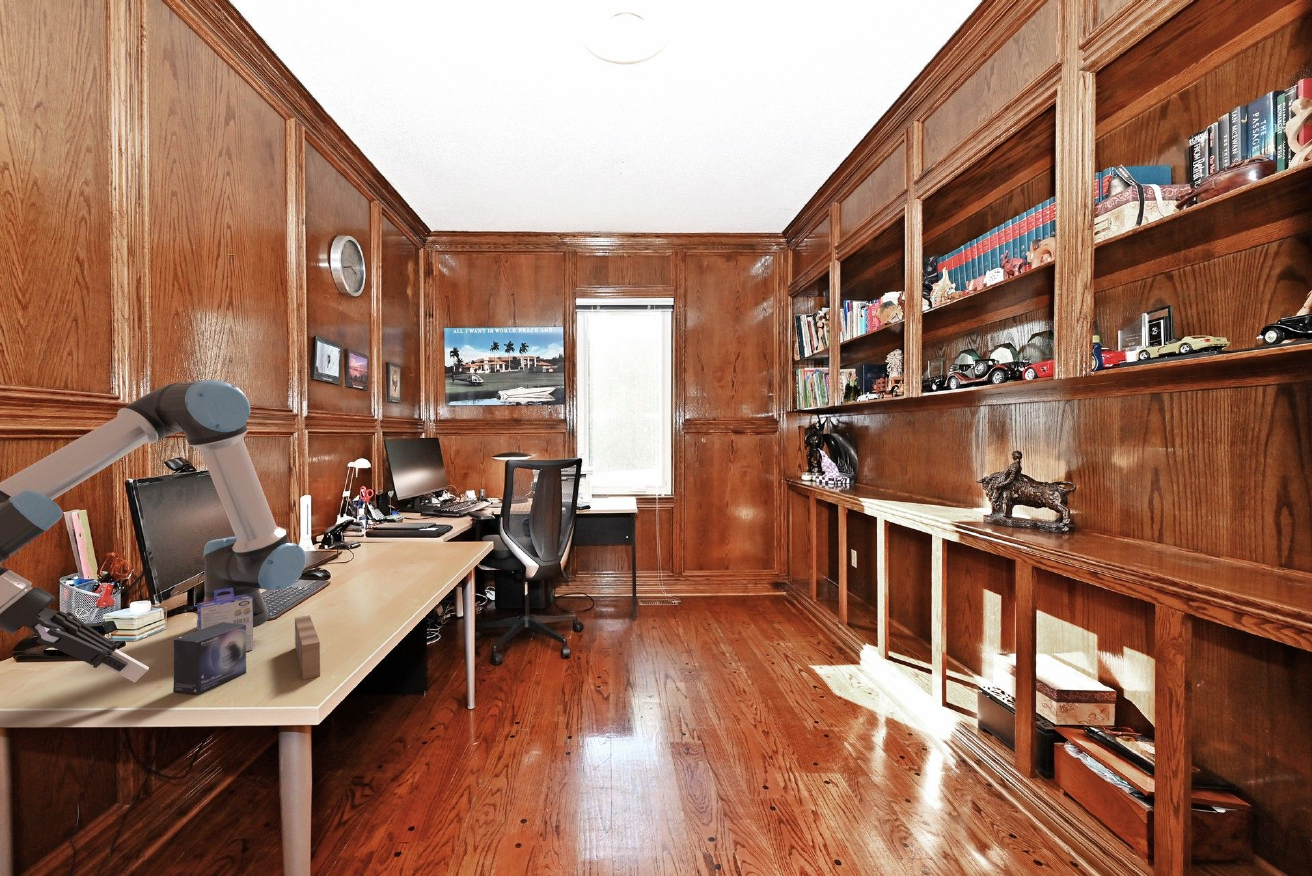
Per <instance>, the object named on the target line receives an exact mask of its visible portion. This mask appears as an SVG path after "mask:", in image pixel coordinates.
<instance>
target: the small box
mask: <svg viewBox="0 0 1312 876" xmlns="http://www.w3.org/2000/svg"><path fill="white" fill-rule="evenodd" d="M172 641H173V690H172V692H173V693H180V694H181V693H182V694H191V695H200V694H202V693H205V692H207V691H209V690H212V689H214V688H216V687H218V686H220V685H223V684H225V683H228V682H229V681H231V680H234V679H237V678H238V677H240V676H243V675H246V674H247V651H246V625H245V624H234V623H226V622H222V623H219V624H216V625H213V626H210V627H207V628H204V629H201V630H198V631H197V630H196V631H193V632H189V633H187V634H184V635H181V636H178V637H175V638H173V640H172Z"/></svg>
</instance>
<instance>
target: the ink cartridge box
mask: <svg viewBox="0 0 1312 876" xmlns="http://www.w3.org/2000/svg"><path fill="white" fill-rule="evenodd" d="M224 591H228V592H231V593H230V594H227V595H221V596H217V594H218V593H221V592H224ZM196 611H197V612H196V616H197V620H198V630H201V629H204V628H207V627H210V626H213V625H216V624H219V623H222V622H226V623H234V624H245V625H246V652H249V651H252V650H254V627H253V606H252V597H251V596H249V595H248V594H244V595H239V596H235V595H234V591H233V587H231V588H225V589H219V590H214V600H213V601H208V602H204V601H203V602H198V603H196Z"/></svg>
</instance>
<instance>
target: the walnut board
mask: <svg viewBox="0 0 1312 876" xmlns="http://www.w3.org/2000/svg"><path fill="white" fill-rule="evenodd" d="M294 642H295V643H294V645H295V646H294V647H295V652H296V657H297V660H298V663H299V668H300V672H301V677H302V680H303V681H304V680H308V678H309V679H314V678H318V677H321V646H320V644H321V642H320V639H319V637H318V634H317V630H316V629H315V626H314V623H313V620H312V617H311V615H303V616H296V617H294Z"/></svg>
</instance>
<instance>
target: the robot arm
mask: <svg viewBox="0 0 1312 876" xmlns="http://www.w3.org/2000/svg"><path fill="white" fill-rule="evenodd" d="M250 415H251V404H250V402H249V399H248V398H247V395H246V394H245V393H244V392H243V391H242V390H241V389H240V388H238V387H237V386H236V385H233V384H232V383H229V382H226V381H222V380H211V379H210V380H209V379H206V380H197V381H187V382H185V381H184V382H181V381H180V382H173V383H168V384H166V385H163V386H162V385H161V386H160V387H158V388H156V389H154V390H152V391H150V392H148V393H147V394H144V395H143V396H141V397H139V398H138V399H135V401H132V402H131V403H129V404H127V405H125V406H124V407H122V408H120V409H118V411H117V414H116V417H114V418H113V419H111V420H109V421H107V422H105V423H104V424H102V425H100V426H98V427H96V428H94V429H93V430H91V431H90V432H88V433H86V434H84V435H82V436H80V437H79V438H77V439H75V440H73V441H72V442H69V443H68V444H67V445H65V446H62V447H61V448H59V449H58V450H56V451H54V452H52V453H51V454H49V455H47V456H45V457H43V458H41V459H40V460H38V461H36V462H34V463H32V464H31V465H28V466H27V467H25V468H24V469H22V470H20V471H18V472H16V473H15V474H13V475H11V476H9V477H8V478H5V479H4V480H3V481H0V630H2V631H4V632H6V633H8V634H11V635H12V634H15V633H17V632H19V630H21V629H22V628H23V627H25V628H26V629H28V630H29V631H31V633H33V636H35V637H36V638H38V639H37V640H36V642H37V643H38V644H40V645H43V646H47V647H50V648H52V649H55V650H57V651H59V652H61V653H64V654H66V655H69V656H71V657H73V658H76V660H79V661H82V662H84V663H86V664H89V665H91V666H92V668H93V669H94V668H95V669H97V668H98V667H100V665H101V666H103V667H105V668H107V669H109V670H111V671H113V672H114V673H116V674H118V675H120V676H122V677H124V678H126V679H127V680H129V681H130V682H133V683H136V682H137V681H138V680H139V679H140V678H141V677H142V676H144V675H145V674H146V673H147V672H148V671H149V668H150V667H149V666H147V665H145V664H144V663H142V662H140V661H138V660H137V659H135V658H133V657H131V656H129V655H128V654H126V653H125V652H122V651H121V650H119V649H118V647H119V646H120V643H119V642H116V643H114V642H113V641H112V640H110V638H107V637H106V636H104V635H103V634H101V633H99V632H98V631H97V630H95V629H94V628H92V627H91V626H89V625H88V624H87V623H85V622H83V621H82V620H80V619H79V618H78V617H76V615H74V614H73V613H72V612H71V611H70V612H69V611H67V612H64V611H61V610H59V611H57V610H56V609H53V608H51V607H48V606H49V605H50V604H52V603H53V602H54V601H55V599H56V596H55V595H53V594H52V593H50V592H48V591H47V590H44V589H43V588H42V587H40V586H37V587H36V586H34V587H32V584H33V583H32V582H31V581H30V580H28V579H26V578H25V577H23V576H21V575H19V574H18V573H16V572H14V571H12V570H10V569H8V568H7V567H5V566H3V565H2V563H3V562H5V561H7V559H9V558H10V557H12V556H13V555H14V554H16V553H17V552H19V551H20V550H22V548H24V547H26V546H27V545H28V544H30V543H31V542H32V541H34V540H35V539H37V538H38V537H40V536H41V535H42V534H43V533H45V532H47V531H49V530H50V528H52V527H53V526H54V525H55V524H57V522H59V521H60V520H61V519H62V517H63V516H64V513H63V509H62V508H61V506H60V505H59V504H58V503H57V502H55V501H54V500H55V499H57V498H58V497H60V496H62V495H63V494H65V493H66V492H68V491H70V490H71V489H73V488H74V487H76V486H77V485H80V484H81V483H83V482H85V481H86V480H87V479H89V478H91V477H92V476H94V475H96V474H97V473H99V472H100V471H103V470H104V469H105V468H107V467H109V466H110V465H112V464H113V463H115V462H117V461H118V460H120V459H122V458H123V457H125V456H127V455H128V454H130V453H132V452H133V451H134V450H136V449H138V448H140V447H141V446H143V445H145V444H149V445H150V444H155V443H157V442H158V441H161V440H162V439H164V438H165V437H166V438H167V437H168V436H171V435H174V434H179V433H183V434H184V436H185V439H186V441H187V444H188V445H189V447H192V448H195V449H197V450H199V452H200V454H201V455H202V458H203V462H205V463H204V464H205V465H206V468H207V470H208V473H209V476H210V479H212V482H213V483H212V484H213V486H214V487H215V490H216V493H217V495H218V497H219V500H220V502H221V505H222V506H223V509H224V511H225V513H226V517H227V519H228V522H229V524H230V526H231V529H232V531H233V533H234V536H229V537H224V538H219V539H218V538H217V539H212V540H209V541H207V542H206V543H205V545H204V547H203V555H202V558H203V571H204V572H203V575H204V578H203V579H204V601H203V602H208V601H213V600H214V590H219V589H225V588H231V587H233V591H234V595H235V596H239V595H244V594H248V595H249V596H251V597H252V606H253V628H254V627H256V626H259V625H262V624H263V623H265V622H267V621H268V619H269V610H268V607H267V605H266V603H265V600H264V599H263V596H262V594H261V590H265V591H273V590H274V591H279V590H280V591H281V590H283V589H287V588H289V587H291V586H293V584H295V583H296V582H297V581H298V580H299V579H300V578H301V576H302V575H303V571H304V570H305V568H306V563H307V556H306V552H305V551H304V549H303V548H302V547H301V546H300V545H298V544H297V543H294V542H291V541H290V538H289V535H288V533H287V531H286V529H285V528H283V527H280V526H277V524H276V521H275V518H274V516H273V513H272V510H271V508H270V505H269V503H268V501H267V498H266V495H265V493H264V490H263V486H262V484H261V482H260V480H259V477H258V474H257V472H256V469H255V466H254V464H253V461H252V458H251V456H250V453H249V450H248V448H247V445H246V443H245V440H244V438H245V436H246V435H247V433H248V432H249V431H248V426H247V425H246V423H247V422H248V421H249V416H250ZM230 593H231V592H228V591H224V592H221V593H218V594H217V596H221V595H227V594H230ZM196 631H198V619H197V620H196Z"/></svg>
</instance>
